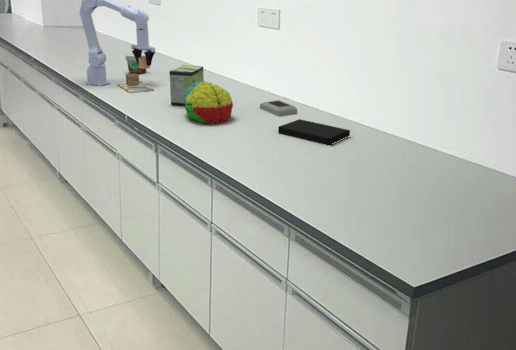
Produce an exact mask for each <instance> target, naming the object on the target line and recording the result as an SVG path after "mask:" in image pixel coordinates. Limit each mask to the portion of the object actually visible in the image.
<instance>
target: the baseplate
mask: <svg viewBox="0 0 516 350" xmlns="http://www.w3.org/2000/svg"><path fill="white" fill-rule="evenodd" d="M139 76H140V74H139V75H137V74H129V73H127V74H125V82H117V83H116V85H117V86H118V87H120V88H121V89H123V91H125V92H127V93H128V94H133V93H134V94H135V93H145V92H153V91H154V88H153V87H151V86H149V85H148V84H146V83H144V82H142V81H140V77H139Z"/></svg>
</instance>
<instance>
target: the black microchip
mask: <svg viewBox="0 0 516 350" xmlns="http://www.w3.org/2000/svg"><path fill="white" fill-rule="evenodd" d="M277 129H278V131H277V132H278V134H279V135H284V136H288V137H292V138H296V139H299V140H305V141H309V142H312V141H313V142H312V143H316V142H317V144H321V143H322V145H325V144H326V145H325V146H329V145H330V146H332V145H333V144H332V143H334V142H336V143H338V142H337V141H339V140H341V139H343V138H345V137H347V136H349V135H350V136H351V129H345V128H341V127H337V126H333V125H328V124H323V123H319V122H314V121H311V120H305V119H300V118H299V119H297V120H294V121H291V122H287V123H285V124H282V125H279V126H278V128H277ZM345 139H346V138H345ZM343 140H344V139H343ZM341 141H342V140H341ZM339 142H340V141H339ZM331 144H332V145H331ZM334 144H335V143H334Z"/></svg>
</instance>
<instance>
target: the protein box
mask: <svg viewBox="0 0 516 350" xmlns="http://www.w3.org/2000/svg"><path fill="white" fill-rule="evenodd" d="M204 79H205V78H204V66H199V65H189V64H188V65H185V64H182V65H179V66H178V67H176V68H173V69H171V70H169V90H170V92H169V93H170V105H171V106H173V107H175V106H176V107H185V106H186V105H185V104H184V96H185V93H186V91H187V89H188V88H190V87H191V86H192V85H193V84H194V83H196V82H202V81H204Z"/></svg>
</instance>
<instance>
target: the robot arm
mask: <svg viewBox="0 0 516 350" xmlns="http://www.w3.org/2000/svg"><path fill="white" fill-rule="evenodd" d="M99 7H106V8H109V9H111V10H112V11H113V10H114V11H116V12H119V13H120V15H121V17H124V18H125V19H128V20H129V21H132V22H134V23H135V24H136V31H135V32H136V44H131V45H130V46H131V47H130V48H131V52H132V54H133V56H135V58H136V61H137V64H139V62H138V57H141V56H143V54H142V53H144V56H146V62H147V66H150V67H151V66H152V62H153V59H154V55H155V54H156V47H155V46H154V47H153V46H149V45H150V44H149V43H150V42H149V41H150V40H149V39H150V38H149V24H148V22H149V21H150V20H149V19H150V17H149V15H148V14H147V12H145V11H141V10H140V9H136V8H134V7H132V5H130V4H125V5H121V4H119V3H117V2H115V1H113V0H81V5H80V9H79V16H80V20H81V24H82V28H83V30H84V34H85V38H86V42H87V45H88V53H87V54H88V63H89V65H88V67H87V69H86V77H87V78H86V80H87V82H86V84H88V85H93V86H97V87H98V86H99V87H100V86H104V85H108V84H111V81H107V72H106V71H107V70H106V64H105V63H106V62H107V56H106V54H105V53H104V52H103V51H104V50H103V49H102V47H101V46H100V43H99V39H98V36H97V32H96V28H95V24H94V20H93V17H92V14H93V13H94V12H95V10H96V9H97V8H99ZM143 51H144V52H143Z"/></svg>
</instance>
